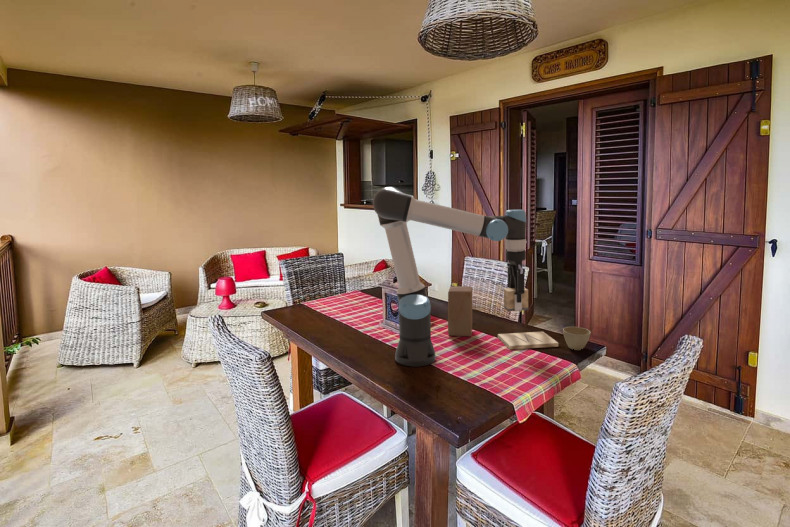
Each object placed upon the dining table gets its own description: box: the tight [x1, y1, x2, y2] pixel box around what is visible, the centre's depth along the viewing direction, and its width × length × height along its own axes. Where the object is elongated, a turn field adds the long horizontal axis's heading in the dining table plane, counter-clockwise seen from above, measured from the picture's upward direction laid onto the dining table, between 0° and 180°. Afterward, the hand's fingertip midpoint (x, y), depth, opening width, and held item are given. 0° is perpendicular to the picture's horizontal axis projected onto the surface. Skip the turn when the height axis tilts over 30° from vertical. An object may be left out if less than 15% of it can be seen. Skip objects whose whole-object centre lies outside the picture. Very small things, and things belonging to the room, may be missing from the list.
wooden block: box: [447, 285, 473, 337], centre depth 193 cm, size 10×10×20 cm
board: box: [497, 331, 559, 350], centre depth 182 cm, size 20×14×2 cm
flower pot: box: [562, 326, 592, 351], centre depth 174 cm, size 10×10×7 cm
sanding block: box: [503, 287, 529, 312], centre depth 175 cm, size 8×5×8 cm, turn 94°
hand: (515, 308), depth 175 cm, fingers closed on sanding block, 5 cm apart
